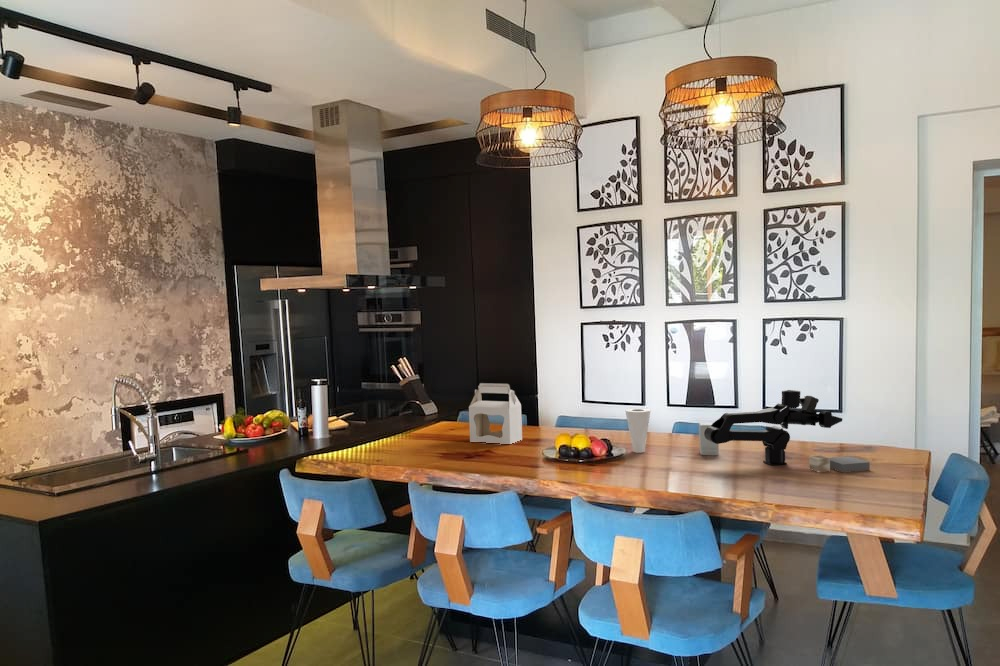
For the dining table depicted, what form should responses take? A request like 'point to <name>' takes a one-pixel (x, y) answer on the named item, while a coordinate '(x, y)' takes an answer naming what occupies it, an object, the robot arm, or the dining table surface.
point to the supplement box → (706, 442)
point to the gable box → (504, 408)
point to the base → (848, 464)
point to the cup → (638, 427)
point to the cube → (819, 463)
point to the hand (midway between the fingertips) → (835, 418)
